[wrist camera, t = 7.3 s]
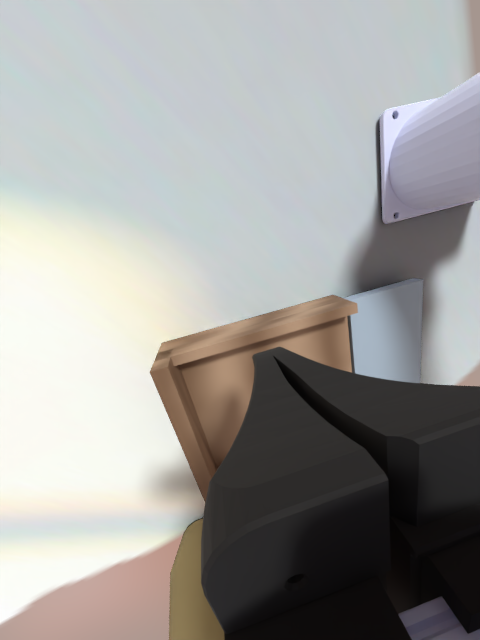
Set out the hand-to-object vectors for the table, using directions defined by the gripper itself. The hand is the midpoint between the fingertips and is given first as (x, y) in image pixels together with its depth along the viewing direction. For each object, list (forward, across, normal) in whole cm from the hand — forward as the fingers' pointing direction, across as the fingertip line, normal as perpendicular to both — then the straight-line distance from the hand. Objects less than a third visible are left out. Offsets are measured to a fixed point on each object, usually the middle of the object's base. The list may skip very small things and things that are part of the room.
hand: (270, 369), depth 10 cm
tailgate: (+8, -9, +8) cm, 15 cm away
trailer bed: (+10, -1, +8) cm, 13 cm away
